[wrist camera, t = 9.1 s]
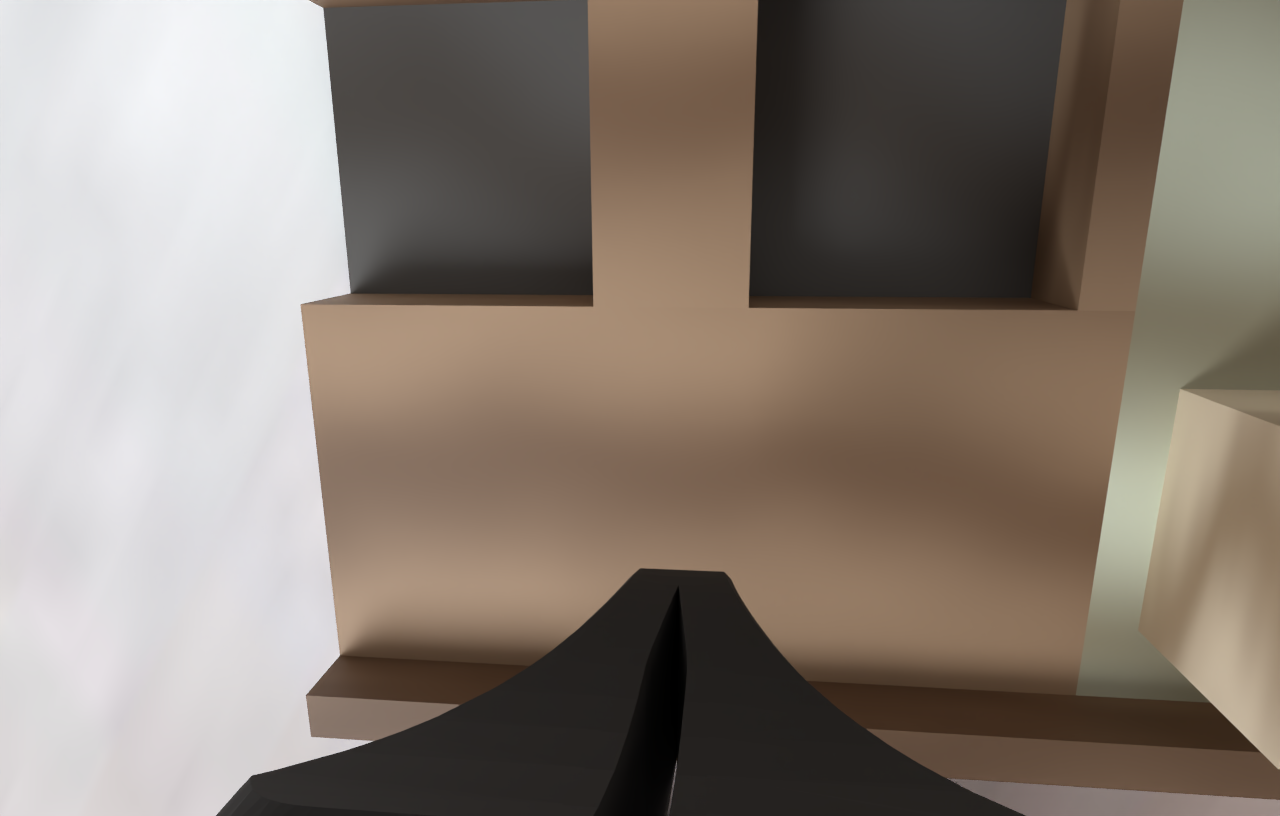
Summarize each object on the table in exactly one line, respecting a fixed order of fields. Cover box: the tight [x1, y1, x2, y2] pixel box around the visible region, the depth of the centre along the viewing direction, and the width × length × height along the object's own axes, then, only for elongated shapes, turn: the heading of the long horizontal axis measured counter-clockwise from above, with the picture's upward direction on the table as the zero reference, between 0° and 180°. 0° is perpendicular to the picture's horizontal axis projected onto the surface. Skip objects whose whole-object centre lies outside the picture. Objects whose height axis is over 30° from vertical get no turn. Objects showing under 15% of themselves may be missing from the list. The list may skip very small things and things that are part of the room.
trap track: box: [301, 0, 1280, 800], centre depth 15 cm, size 16×23×4 cm
